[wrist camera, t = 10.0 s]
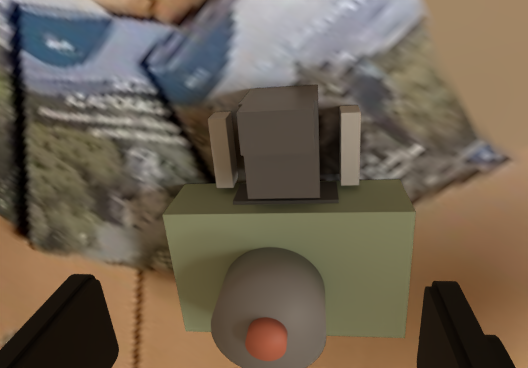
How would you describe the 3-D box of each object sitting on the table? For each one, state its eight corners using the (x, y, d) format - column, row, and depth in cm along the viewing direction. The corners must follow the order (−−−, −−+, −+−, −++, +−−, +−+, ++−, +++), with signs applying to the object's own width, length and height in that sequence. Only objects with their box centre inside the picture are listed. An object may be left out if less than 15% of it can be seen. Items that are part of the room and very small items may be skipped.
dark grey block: (317, 84, 26) (318, 108, 20) (319, 167, 29) (320, 213, 22) (251, 88, 27) (231, 112, 21) (258, 169, 29) (242, 213, 23)
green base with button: (404, 102, 26) (452, 153, 17) (392, 291, 32) (422, 402, 23) (173, 114, 28) (106, 163, 19) (202, 288, 34) (162, 388, 25)
